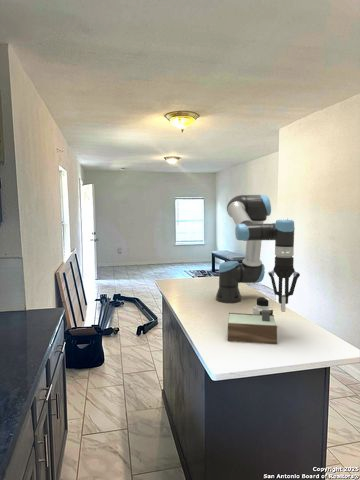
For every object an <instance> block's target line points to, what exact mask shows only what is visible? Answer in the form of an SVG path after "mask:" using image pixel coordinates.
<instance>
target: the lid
mask: <svg viewBox="0 0 360 480" xmlns="http://www.w3.org/2000/svg"><path fill="white" fill-rule="evenodd" d="M242 314H243V313H241V314H229V313H228V321H229V323H238V324H256V325H273V326H277V322H276V320H275V316H270V311H269V310H262V316H261V315H242Z"/></svg>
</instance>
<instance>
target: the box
mask: <svg viewBox="0 0 360 480" xmlns="http://www.w3.org/2000/svg"><path fill="white" fill-rule="evenodd" d="M229 314H242V315H260V314H253V313H241V312H240V313H239V312H238V313H236V312H229V313H228V315H229ZM261 316H262V315H261ZM270 316H274V314H273V315H270ZM274 317H275V316H274ZM227 342H237V343H239V342H241V343H252V344H254V343H255V344H269V345H277V344H278V325H276V326H273V325H256V324H238V323H229V320H228V321H227Z"/></svg>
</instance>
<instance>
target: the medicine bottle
mask: <svg viewBox="0 0 360 480" xmlns="http://www.w3.org/2000/svg"><path fill="white" fill-rule="evenodd" d="M262 310H269V311H270V315H274V309H273V308H271V307H270V299H269V298H268V297H265V296H260V297H257V298H256V306H255V305H254V306H252V314H260V315H262Z"/></svg>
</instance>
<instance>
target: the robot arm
mask: <svg viewBox="0 0 360 480" xmlns="http://www.w3.org/2000/svg"><path fill="white" fill-rule="evenodd" d="M226 212H227V215H228V216H229V217H230V218H232V220H233V223H234V224H235V230H234V232H235V233H234V234H235V238H236V240H237V241H244V242H245V243H246V245H245V253H244V254H245V255H244V258H243V260H241V261H242V263H239V261H237V260H228V261H224V262H221V263H220V264H219V267H218V289H217V293H216V294H215V295H216V296H215V300H216V301H217V302H220V303H225V304H226V303H227V304H228V303H229V304H235V303H239V302H241V301H242V294H241V292H240V289H239V284H240V283H241V284H246V283H247V284H248V283H249V284H251V283H252V284H256V283H261V282H262V281H263V280H264V276H265V274H266V273H265V271H266V270H265V265H264V263H263V261H262V260H261V252H262V251H261V250H262V241H275V242H274V255H275V257H274V267H273V269H272V270H271V271H268V272H267V274H268V276H269V277H270V280H271V284H272V285H271V286H272V288H273V293H274V295H276V296H278V303H279V304H280V311H281V313H286V305H288V304H289V297H291V296H293V295H294V292H295V288H296V286H297V285H296V284H297V281H298V279H299V277H300V276H301V274H300V272H298V271H296V270H295V268H294V256H295V255H294V254H295V252H294V249H295V248H294V247H295V246H294V245H295V221H294V220H293V219H276V220H275V222H272V223H264V222H266V221H267V219H268V217H269V216H271V214H272V204H271V201H270V197H269V196H268V195H264V194H246V195H244V194H241V195H236V196H234V197H233V198H231V199H230V200H229V202H228V203H227V205H226ZM275 274H276V276H277V278H278V287H277V284H276V281H275V277H274V276H275ZM292 276H293V278H292V281H291V284H289V283H290V278H291V277H292ZM283 281H284V295H283ZM290 285H291V286H290ZM289 287H290V289H289ZM277 288H278V289H277Z"/></svg>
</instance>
